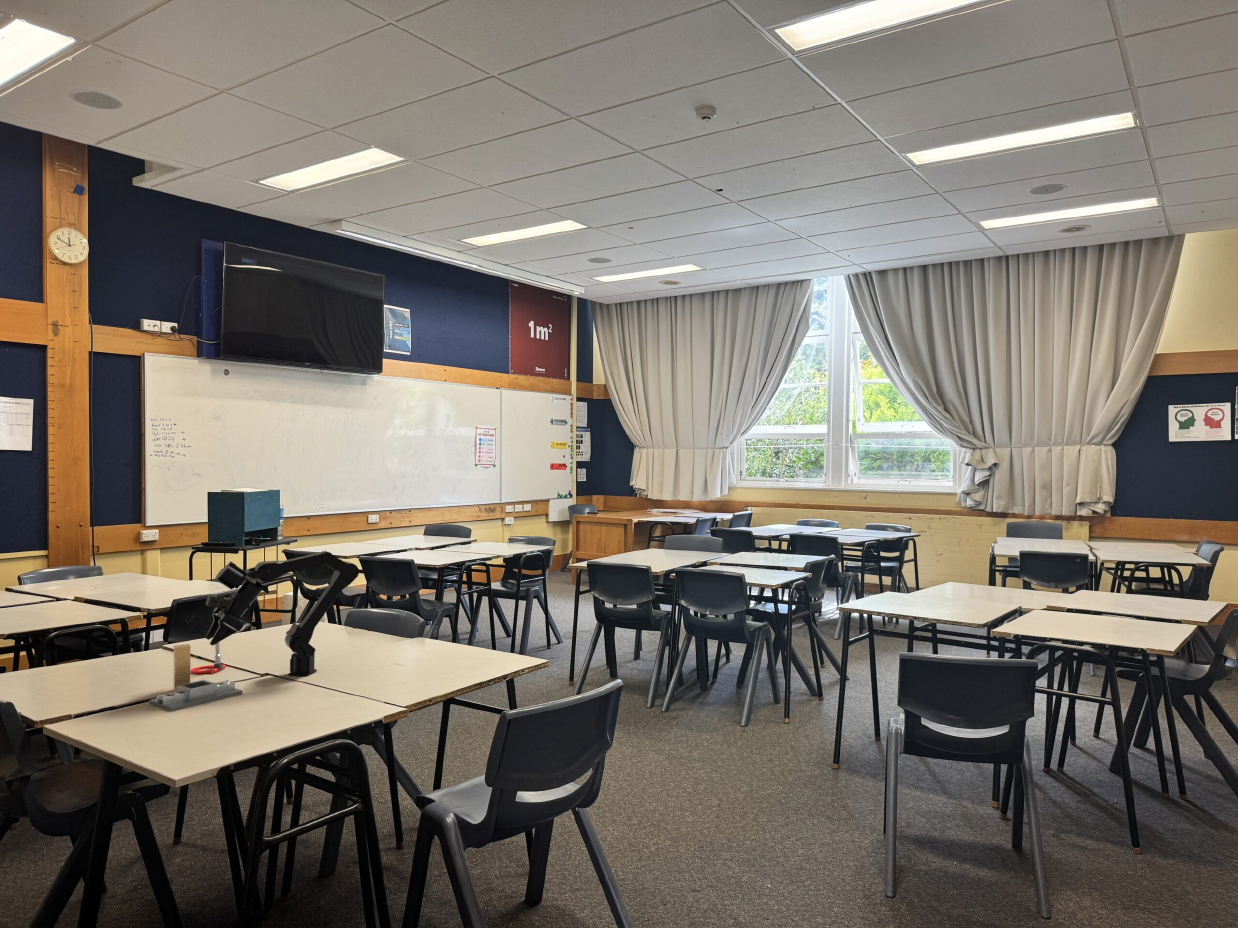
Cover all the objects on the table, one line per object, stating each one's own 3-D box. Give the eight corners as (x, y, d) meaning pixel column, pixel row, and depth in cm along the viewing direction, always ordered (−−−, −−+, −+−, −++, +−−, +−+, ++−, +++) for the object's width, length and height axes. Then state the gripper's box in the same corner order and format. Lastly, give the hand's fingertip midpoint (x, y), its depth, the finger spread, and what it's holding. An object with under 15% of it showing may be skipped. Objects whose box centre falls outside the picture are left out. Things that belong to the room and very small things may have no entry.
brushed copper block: (188, 687, 234) (189, 644, 234) (190, 690, 231) (190, 646, 232) (173, 689, 232) (173, 645, 232) (174, 692, 229) (174, 647, 229)
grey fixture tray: (220, 687, 235) (220, 673, 235) (242, 693, 228) (242, 680, 228) (149, 703, 219) (149, 689, 219) (171, 711, 212) (171, 696, 212)
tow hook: (184, 675, 250) (213, 674, 249) (183, 634, 250) (211, 633, 249) (200, 668, 258) (227, 668, 258) (198, 629, 258) (226, 628, 258)
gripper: (216, 579, 246) (181, 622, 240) (225, 587, 230) (188, 633, 225) (247, 598, 251) (213, 641, 245) (258, 607, 235) (222, 653, 230)
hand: (209, 641), depth 236 cm, fingers open, 9 cm apart
